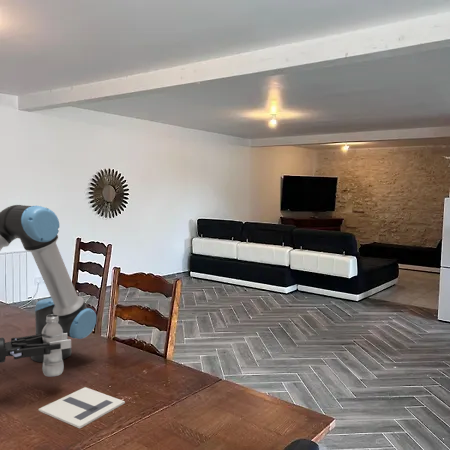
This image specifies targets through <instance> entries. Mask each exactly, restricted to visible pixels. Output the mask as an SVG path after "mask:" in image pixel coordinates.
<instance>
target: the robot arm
mask: <svg viewBox="0 0 450 450" xmlns="http://www.w3.org/2000/svg"><path fill="white" fill-rule="evenodd" d="M59 228H60V221H59V218H58V216H57V214H56V213H55V212H54V211H53V210H52V209H50V208H47V207H44V206H41V205H25V204H24V205H23V204H13V205H9V206H8V207H6V208H4V209H3V210H1V211H0V251H2V249H3V248H7V247H9V246H10V245H11V243H12V242H13V241H14V240H17V239H19V240H20V242H21V244H22V247H23V248H24V250H25V251H27V252H30V253H31V255H32V258H33V259H34V261H35V264H36V266H37V268H38V270H39V273H40V275H41V277H42V280H43V282H44V285H45V287H46V289H47V291H48V293H49V295H50V297H48V298H44V299H40V300H38V301H37V302H36V303H35V308H34V312H35V317H34V318H35V320H34V321H35V334H33V335H26V336H21V337H11V338H10V341H7V342H6V341H5V340H6V339H5V337H0V363H1V364H2V363H5V362H6V357H13V360H19V359H22V358H30V359H31V360H32V361H35V362H38V363H43V362H44V355H47V354H50V351H54V350H61V351H62V360H63V361H64V359H65V360H66V359H68V358H69V357H71V355H72V339H76V340H77V339H79V340H81V339H84V338H87V337H88V336H89V335H90V334H92V332H93V331H94V329H95V326H96V324H97V314H96V311H94V310H93V309H92V308H90V307H88V306H87V305H86V302H85V299H84V298H83V297H82V296H79V295H78V294H77V291H76V288H75V286H74V284H73V282H72V280H71V276H70V274H69V272H68V269H67V266H66V264H65V262H64V259H63V257H62V254H61V252H60V249H59V247H58V245H57V241H58V240H59V235H58V234H59V232H60V230H59ZM52 314H56V315H58V319H59V321H58V323H59V324H60V326H61V327H62V329H63V336H62V340H61V341H54V342H50V344H43V338H42V330H43V328H44V326H45V325H46V324H47V322H46V316H47V315H52ZM68 337H69V338H68Z"/></svg>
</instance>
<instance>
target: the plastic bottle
mask: <svg viewBox="0 0 450 450" xmlns="http://www.w3.org/2000/svg"><path fill="white" fill-rule="evenodd" d="M58 321H59V319H58V315H56V314H52V315H47V316H46V322H47V324H46V325H45V326H44V328H43V330H42V338H43V344H50V342H54V341H61V340H62V336H63V329H62V327H61V326H60V324H59V323H58ZM64 364H65V363H64V359H63V360H62V351H61V350H54V351H50V354H47V355H44V362H42V368H41V370H42V373H43V375H44V376H45V377H50V378H53V377H58V376H60V375H62V373H63V372H64Z"/></svg>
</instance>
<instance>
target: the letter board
mask: <svg viewBox="0 0 450 450" xmlns="http://www.w3.org/2000/svg"><path fill="white" fill-rule="evenodd" d="M124 404H126V402H125V401H124V400H122V399H120V398H117V397H114V396H111V395H108V394H107V393H106V394H105V393H103V392H100V391H97V390H95V389H91V388H90V387H86V386H84V387H82V388H80V389H78V390H76V391H74V392H72V393H70V394H67V395H65V396H63V397H61V398H59V399H57V400H55V401H53V402H49V403H48V404H46V405H43V406H42V407H40V408H38V412H40V413H43V414H45V415H47V416H50V417H52V418H54V419H55V420H59V421H61V422H63V423H66V424H68V425H71V426H73V427H75V428H78V429H79V430H81V428H83V427H85V426H87V425H89V424H91V423H93V422H94V421H96V420H98V419H99V418H101V417H103V416H105V415H106V414H108V413H110V412H112V411H113V410H115V409H117V408H119V407H121V406H122V405H124Z"/></svg>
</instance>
